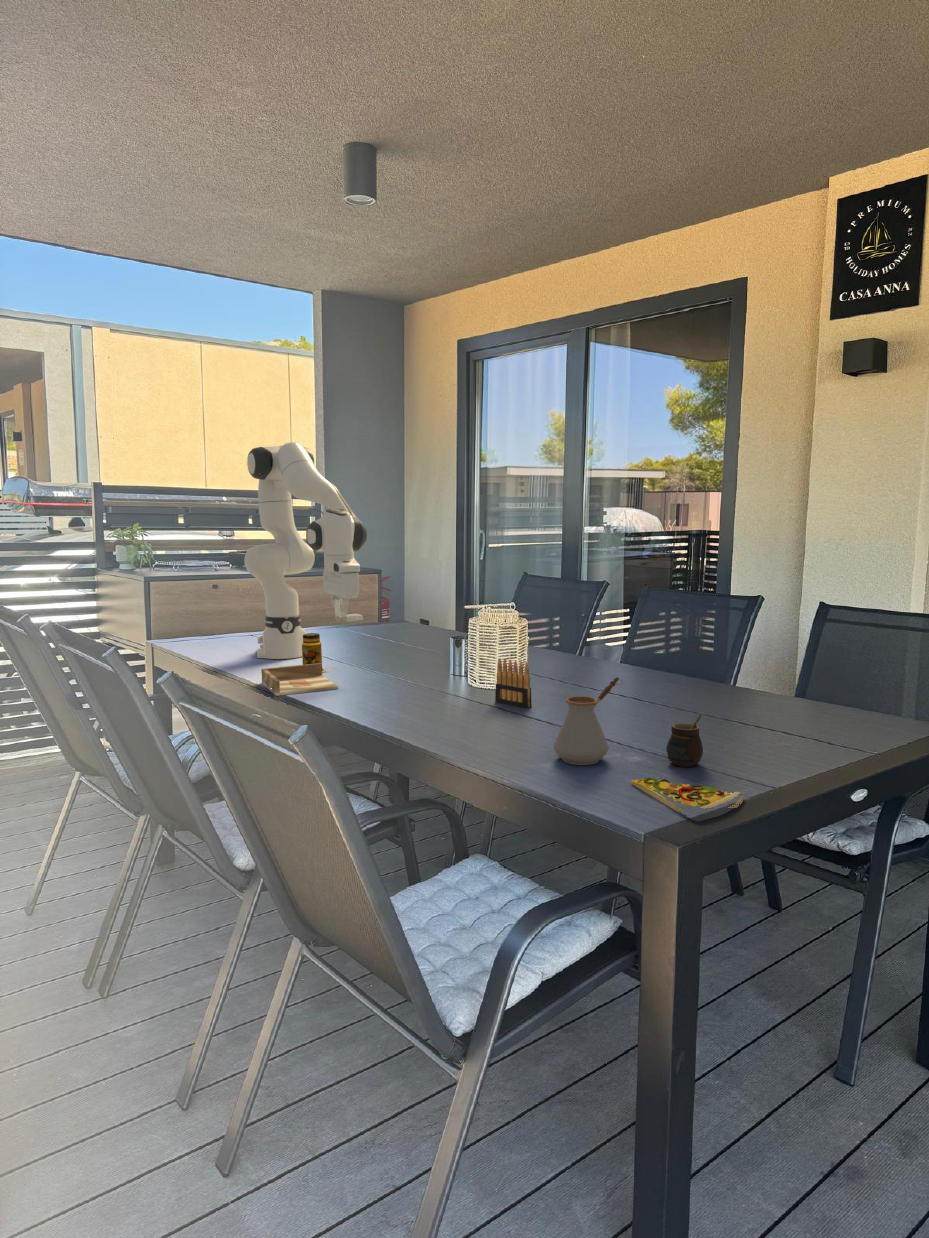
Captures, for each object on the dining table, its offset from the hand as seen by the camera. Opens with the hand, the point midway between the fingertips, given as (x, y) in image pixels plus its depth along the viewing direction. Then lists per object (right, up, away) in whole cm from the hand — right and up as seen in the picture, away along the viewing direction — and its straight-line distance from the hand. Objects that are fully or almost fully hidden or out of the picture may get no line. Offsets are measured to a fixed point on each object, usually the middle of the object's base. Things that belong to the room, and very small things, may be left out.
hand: (340, 610), depth 251 cm
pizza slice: (+76, -36, -97) cm, 128 cm away
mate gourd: (+82, -32, -78) cm, 118 cm away
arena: (-12, -22, -4) cm, 25 cm away
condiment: (-12, -19, +17) cm, 28 cm away
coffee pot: (+64, -32, -71) cm, 101 cm away
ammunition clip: (+50, -25, -28) cm, 62 cm away
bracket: (+2, -3, +2) cm, 4 cm away
